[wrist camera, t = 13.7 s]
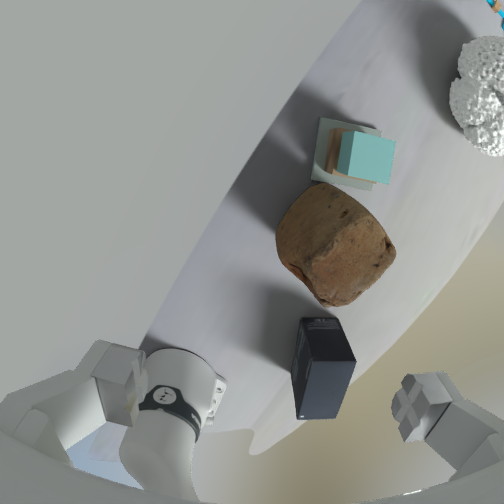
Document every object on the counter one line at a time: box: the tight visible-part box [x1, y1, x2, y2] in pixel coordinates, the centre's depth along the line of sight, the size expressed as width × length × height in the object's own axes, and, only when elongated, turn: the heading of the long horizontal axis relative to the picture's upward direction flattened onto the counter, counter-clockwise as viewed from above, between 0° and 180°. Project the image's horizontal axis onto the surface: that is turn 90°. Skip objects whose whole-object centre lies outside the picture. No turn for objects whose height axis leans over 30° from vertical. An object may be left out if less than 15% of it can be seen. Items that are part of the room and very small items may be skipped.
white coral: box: [449, 36, 504, 156], centre depth 30 cm, size 20×18×16 cm
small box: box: [291, 318, 357, 420], centre depth 46 cm, size 13×7×12 cm, turn 176°
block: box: [276, 183, 396, 308], centre depth 35 cm, size 11×8×20 cm
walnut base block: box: [324, 128, 376, 184], centre depth 37 cm, size 6×6×5 cm
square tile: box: [311, 117, 381, 191], centre depth 40 cm, size 9×9×1 cm
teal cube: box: [337, 131, 396, 184], centre depth 33 cm, size 5×5×5 cm
